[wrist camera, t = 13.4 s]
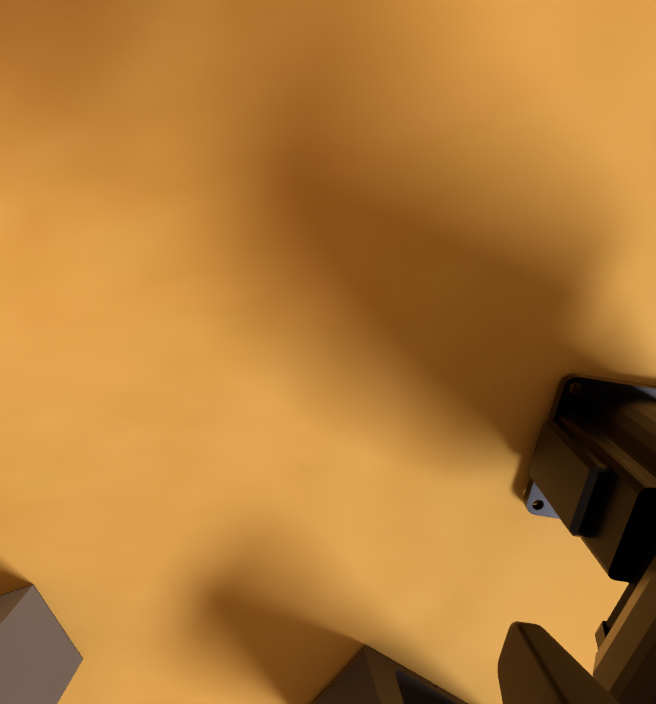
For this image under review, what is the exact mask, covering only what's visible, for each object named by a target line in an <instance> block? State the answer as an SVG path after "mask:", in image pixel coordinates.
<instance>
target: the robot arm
mask: <svg viewBox="0 0 656 704" xmlns="http://www.w3.org/2000/svg"><path fill="white" fill-rule="evenodd" d="M573 383H578V386H577V388H576V389H575V390H573V391H570V386H571V385H572V384H573ZM528 474H529V475H530V480H529V483H528V486H527V489H526V492H525V496H524V501H523V502H524V505H525V507H526V508H527V510H528V511H529V512H530V513H531V514H534V515H540V516H546V517H553V518H559V519H561V521H562V522H563V523H564V525H565V526H566V528H567V529H568V530H569V532H570V533H571V534H572V535H573V536H577V537H580V538H581V539H582V540H583V542H584V543H585V544H586V546H587V547H588V549H589V550H590V551H591V553H592V554H593V555H594V557H595V558H596V559H597V561H598V562H599V564H600V565H601V566H602V568H603V569H604V570H605V572H606V573H607V575H608V576H609V577H610V578H611V579H613V580H617V581H624V582H628V583H629V585H628V586H627V588H626V590H625V591H624V593H623V595H622V596H621V598H620V600H619V601H618V603H617V605H616V606H615V608H614V610H613V612H612V613H611V615H610V617H609V618H608V620H607V621H602V623H601V624H600V626H599V628H598V629H597V631H596V633H595V637H596V642H597V646H598V652H597V653H596V658H595V664H594V669H593V676H591V675H590V674H589V673H588V672H587V671H586V670H585V669H584V668H583V667H582V666H581V665H580V664H579V663H578V662H577V661H576V660H575V659H574V658H573V657H572V656H571V655H570V654H569V653H568V652H567V651H566V650H565V649H564V648H563V647H562V646H561V645H560V644H559V643H558V642H557V641H556V640H555V639H554V638H553V637H552V636H551V635H550V634H549V633H548V632H547V631H546V630H545V629H543V628H542V627H541V626H539V625H537V624H532V623H525V622H518V621H516V622H513V623H512V624H511V625H510V627H509V630H508V633H507V636H506V639H505V642H504V645H503V648H502V651H501V654H500V657H499V661H498V679H499V684H500V690H501V695H502V701H503V704H656V387H655V386H649V385H643V384H637V383H630V382H624V381H618V380H611V379H605V378H599V377H592V376H586V375H580V374H569V375H566V376H565V377H564V378H562V380H561V381H560V383H559V387H558V390H557V393H556V396H555V399H554V403H553V406H552V409H551V412H550V415H549V419H547V420H546V421H545V422H544V423H543V425H542V429H541V432H540V435H539V438H538V441H537V445H536V448H535V451H534V454H533V458H532V461H531V464H530V467H529V471H528ZM536 500H540V502H539V503H538V504H536V505H532V504H533V503H534V501H536Z"/></svg>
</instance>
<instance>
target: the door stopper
mask: <svg viewBox="0 0 656 704" xmlns="http://www.w3.org/2000/svg"><path fill="white" fill-rule="evenodd" d="M312 704H468V703H466V702H464V701H463V700H461V699H459V698H458V697H456V696H454V695H452V694H451V693H449V692H447V691H445V690H444V689H442V688H440V687H439V686H436V687H434V686H433V685H432V683H431V682H430V681H428V680H426V679H425V678H423V677H421V676H419V675H418V674H416V673H414V672H413V671H411V670H409V669H407V668H406V667H404V666H402V665H400V664H399V663H397V662H395V661H394V660H392V659H390V658H388V657H387V656H385V655H383V654H381V653H380V652H378V651H376V650H374V649H373V648H371V647H369V646H365V647H364V648H363V649H362V650H361V651H360V652H359V654H358V655H357V656H356V657H355V658H354V659H353V660H352V661H351V662H350V663H349V664H348V665H347V666H346V668H345V669H344V670H343V671H342V672H341V673H340V674H339V675H338V676H337V677H336V678H335V679H334V681H333V682H332V683H331V684H330V685H329V686H328V687H327V688H326V689H325V690H324V691H323V692H322V693H321V695H320V696H319V697H318V698H317V699H316V700H315V701H314V702H313V703H312Z"/></svg>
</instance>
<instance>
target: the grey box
mask: <svg viewBox="0 0 656 704" xmlns="http://www.w3.org/2000/svg"><path fill="white" fill-rule="evenodd" d="M82 660H83V658H82V657H81V655H80V654H79V652H78V651H77V649H76V648H75V646H74V645H73V643H72V642H71V640H70V639H69V637H68V636H67V634H66V633H65V631H64V630H63V628H62V627H61V625H60V624H59V622H58V621H57V619H56V618H55V616H54V615H53V613H52V612H51V610H50V609H49V607H48V606H47V604H46V603H45V601H44V600H43V598H42V597H41V595H40V594H39V592H38V591H37V589H36V588H35V586H34V585H30V586H27V587H24V588H21V589H18V590H15V591H12V592H9V593H6V594H3V595H0V704H57V703H58V701H59V700H60V698H61V696H62V694H63V693H64V691H65V689H66V687H67V686H68V684H69V682H70V681H71V679H72V677H73V675H74V674H75V672H76V670H77V669H78V667H79V665H80V663H81V662H82Z"/></svg>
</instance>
